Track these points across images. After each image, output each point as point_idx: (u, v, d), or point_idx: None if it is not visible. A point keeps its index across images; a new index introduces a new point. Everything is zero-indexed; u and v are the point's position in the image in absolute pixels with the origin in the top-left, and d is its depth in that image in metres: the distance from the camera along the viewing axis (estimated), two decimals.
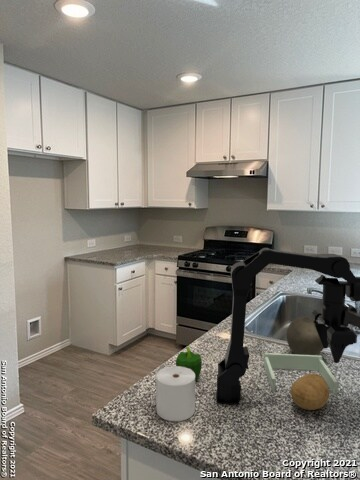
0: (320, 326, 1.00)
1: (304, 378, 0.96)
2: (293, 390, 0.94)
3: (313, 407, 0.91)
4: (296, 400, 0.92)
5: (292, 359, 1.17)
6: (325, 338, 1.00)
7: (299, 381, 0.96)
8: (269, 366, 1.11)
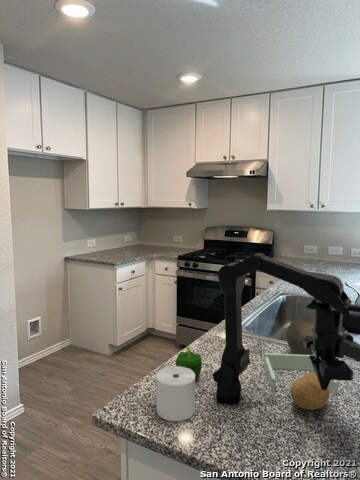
0: (318, 362, 0.85)
1: (304, 378, 0.96)
2: (293, 390, 0.94)
3: (313, 407, 0.91)
4: (296, 400, 0.92)
5: (292, 359, 1.17)
6: None
7: (299, 381, 0.96)
8: (269, 366, 1.11)
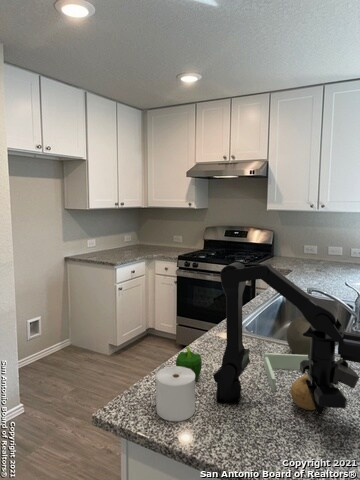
0: (314, 387, 0.88)
1: (304, 378, 0.96)
2: (293, 390, 0.94)
3: (313, 407, 0.91)
4: (296, 400, 0.92)
5: (292, 359, 1.17)
6: None
7: (299, 381, 0.96)
8: (269, 366, 1.11)
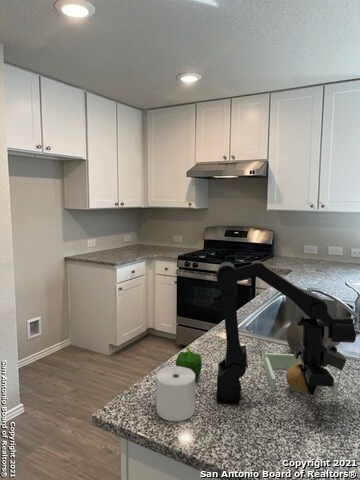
0: (306, 371, 0.96)
1: (298, 364, 1.05)
2: (288, 374, 1.02)
3: (306, 389, 0.99)
4: (291, 383, 1.01)
5: (292, 359, 1.17)
6: None
7: (293, 366, 1.04)
8: (269, 366, 1.11)
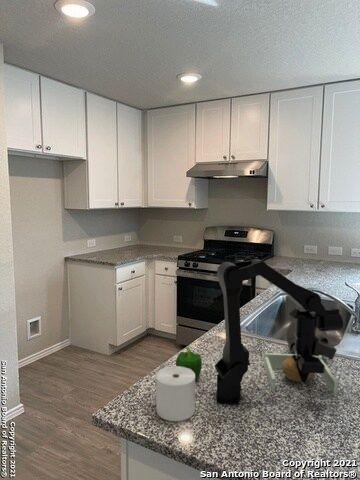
0: (299, 360, 1.03)
1: None
2: (283, 364, 1.09)
3: None
4: (285, 373, 1.07)
5: None
6: None
7: (289, 357, 1.11)
8: (269, 366, 1.11)
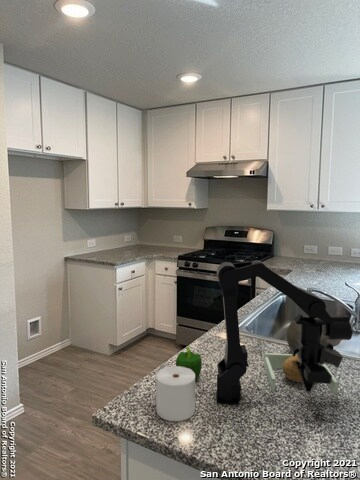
0: (303, 368, 0.99)
1: (295, 355, 1.11)
2: (284, 364, 1.09)
3: (300, 379, 1.05)
4: (286, 373, 1.07)
5: None
6: None
7: (289, 357, 1.11)
8: (269, 366, 1.11)
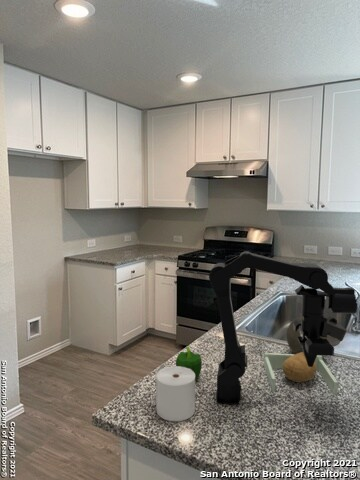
0: (305, 342, 0.95)
1: (295, 355, 1.11)
2: (284, 364, 1.09)
3: (300, 379, 1.05)
4: (286, 373, 1.07)
5: None
6: None
7: (289, 357, 1.11)
8: (269, 366, 1.11)
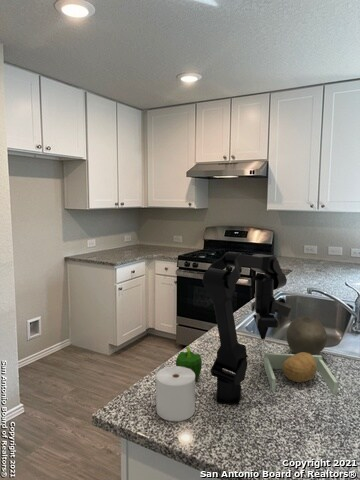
0: None
1: (295, 355, 1.11)
2: (284, 364, 1.09)
3: (300, 379, 1.05)
4: (286, 373, 1.07)
5: None
6: None
7: (289, 357, 1.11)
8: (269, 366, 1.11)
